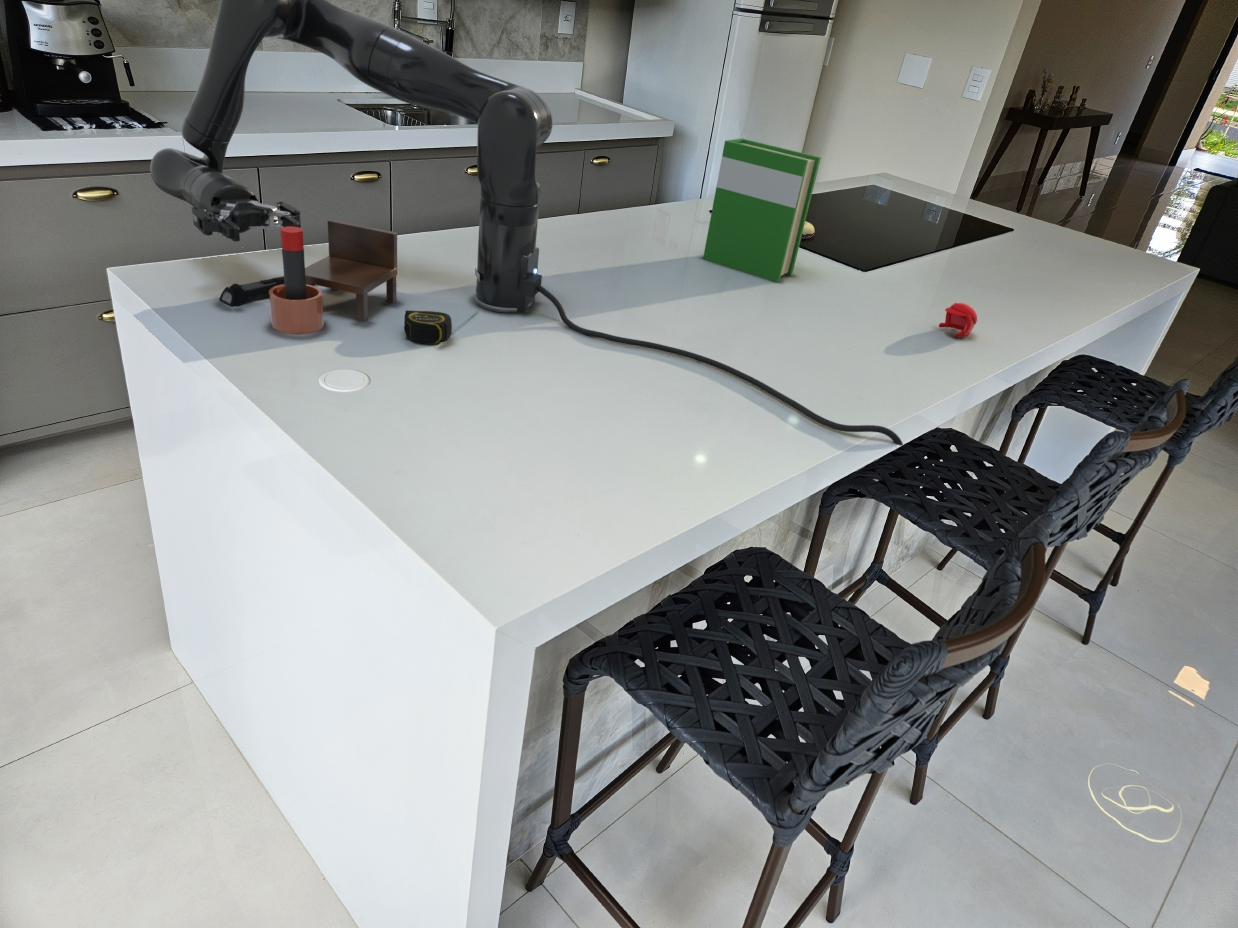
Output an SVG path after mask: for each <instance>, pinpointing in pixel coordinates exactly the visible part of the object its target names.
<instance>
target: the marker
mask: <svg viewBox="0 0 1238 928" xmlns="http://www.w3.org/2000/svg"><path fill="white" fill-rule="evenodd" d="M280 241H281V254H282V255H281V256H282V265H283V266H282V267H283V276H284V282H285V296H286V299H290V300H303V299H307V294H306V278H305V268H306V265H305V264H306V263H305V262H306V261H305V247H304V246H305V245H304V230H303V228H302V227H301V228H299V227H291V226H289V227H283V228H281V229H280Z"/></svg>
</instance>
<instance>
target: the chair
mask: <svg viewBox="0 0 1238 928" xmlns="http://www.w3.org/2000/svg"><path fill="white" fill-rule="evenodd" d="M327 240H328V241H327V242H328V256H326V257H324V258H322V259H319V260H317V261H316V262H314V263H312V264H310V265H308V266H305V278H306V284H307V285H308V283H309V284H313V285H315V286H318V287H323V288H328V289H330V290H332V291H337V292H338V291H343V292H345V293H352V294H355V299H356V301H355V302H356V321H357V322H360V323H366V322H367V321H368V320H369V311H368V310H369V307H368V293H370V292H371V291H373V290H375V289H376V288H378V287H380V286H381V285H383V284H384V283H385V286H386V291H385V292H386V293H385V294H386V295H385V296H386V297H385V298H386V302H388V303H395V302H397V276H398V232H397V231H391V230H387V229H382V228H377V227H373V226H372V227H371V226H366V225H361V224H357V223H352V222H347V221H342V220H338V219H333V218H331V219H329V220H327Z"/></svg>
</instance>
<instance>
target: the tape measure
mask: <svg viewBox="0 0 1238 928" xmlns="http://www.w3.org/2000/svg"><path fill="white" fill-rule="evenodd" d="M404 313H405V314H404V318H403V319H404V320H403V322H404V324H403V325H404V326H403V329H404V330H403V331H404V334H405V336H406V338H407V339H409V340H410V341H411V342H415V343H418V344H425V345H436V344H443V343H445V342H447V341H449V339H451V337H452V330H453V323H452V317H451V316H450V314H448V313H445V312H441V311H431V310H405V312H404Z"/></svg>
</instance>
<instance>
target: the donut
mask: <svg viewBox="0 0 1238 928" xmlns="http://www.w3.org/2000/svg"><path fill="white" fill-rule="evenodd" d="M813 233H814V234H815V227H814V226H813V224H812V223H810V222H808V221H805V225H804V229H803V233H802V234H803V235H806V234H813ZM814 234H813V235H812V236H808V237H801V240H807V239H810V238H812V237H813V236H814Z"/></svg>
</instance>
